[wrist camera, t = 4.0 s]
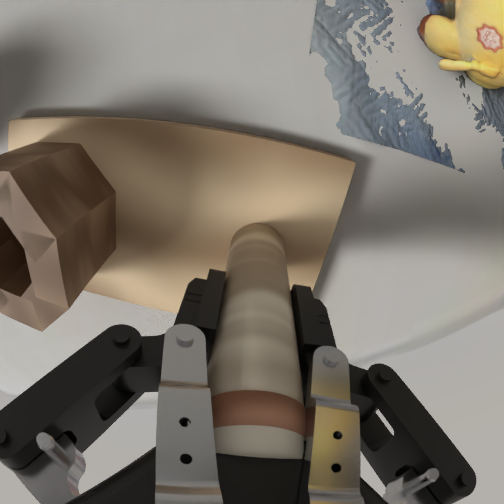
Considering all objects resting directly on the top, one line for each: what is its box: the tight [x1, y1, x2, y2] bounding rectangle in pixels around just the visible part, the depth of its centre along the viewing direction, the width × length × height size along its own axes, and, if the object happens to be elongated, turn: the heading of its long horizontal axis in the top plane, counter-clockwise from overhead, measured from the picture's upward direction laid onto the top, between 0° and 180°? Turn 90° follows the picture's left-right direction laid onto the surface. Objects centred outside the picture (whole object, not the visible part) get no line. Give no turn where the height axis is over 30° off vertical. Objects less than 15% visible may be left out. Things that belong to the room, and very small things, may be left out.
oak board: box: [8, 116, 356, 313], centre depth 16 cm, size 12×22×1 cm, turn 78°
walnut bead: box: [0, 142, 116, 331], centre depth 13 cm, size 9×9×6 cm
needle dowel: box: [207, 223, 307, 459], centre depth 11 cm, size 3×3×12 cm
